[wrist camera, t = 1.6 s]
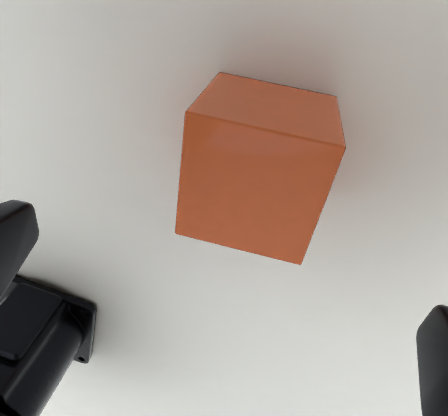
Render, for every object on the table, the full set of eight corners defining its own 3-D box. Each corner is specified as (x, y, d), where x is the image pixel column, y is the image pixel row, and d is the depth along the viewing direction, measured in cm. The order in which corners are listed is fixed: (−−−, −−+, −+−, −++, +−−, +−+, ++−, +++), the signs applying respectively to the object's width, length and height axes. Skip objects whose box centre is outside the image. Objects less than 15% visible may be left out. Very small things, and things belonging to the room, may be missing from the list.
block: (303, 196, 15) (300, 266, 11) (205, 173, 15) (174, 234, 12) (337, 96, 12) (346, 147, 9) (218, 71, 13) (184, 111, 9)
